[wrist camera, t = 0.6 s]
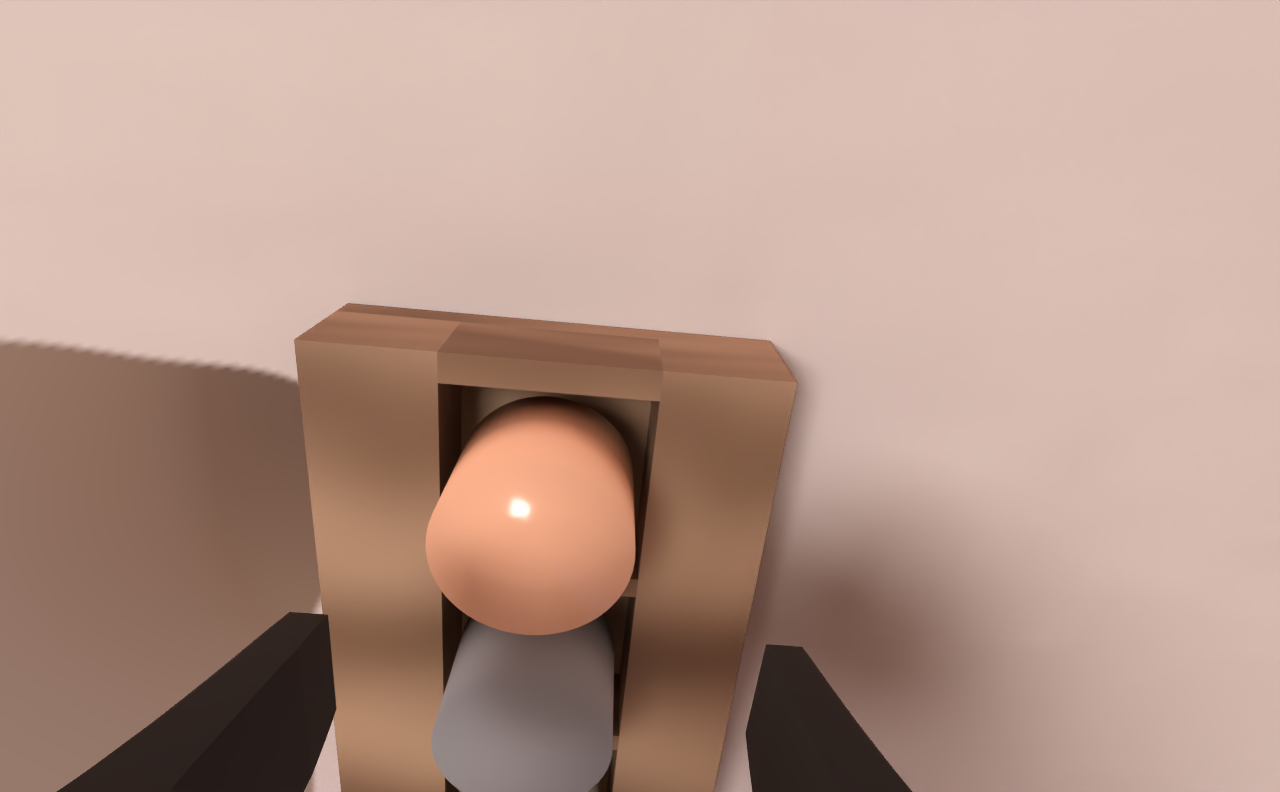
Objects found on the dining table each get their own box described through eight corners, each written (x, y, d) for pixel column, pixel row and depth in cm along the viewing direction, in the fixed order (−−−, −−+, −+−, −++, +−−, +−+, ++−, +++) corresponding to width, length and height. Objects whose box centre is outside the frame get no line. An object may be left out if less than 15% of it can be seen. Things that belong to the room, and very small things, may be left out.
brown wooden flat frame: (687, 792, 27) (695, 879, 24) (381, 778, 26) (349, 866, 23) (769, 340, 19) (797, 382, 16) (348, 303, 19) (294, 339, 16)
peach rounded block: (624, 551, 19) (625, 641, 16) (461, 540, 19) (427, 629, 15) (641, 403, 17) (645, 469, 14) (461, 388, 17) (422, 452, 14)
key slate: (608, 707, 21) (605, 813, 18) (462, 699, 21) (433, 805, 18) (620, 591, 19) (620, 685, 16) (462, 580, 19) (428, 675, 16)
